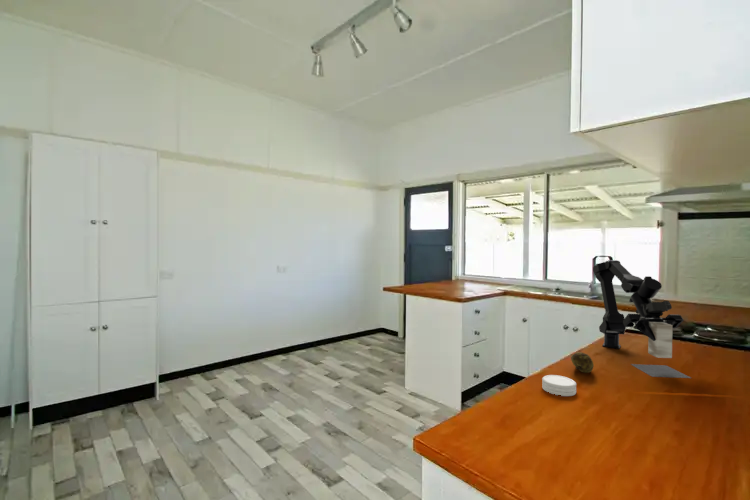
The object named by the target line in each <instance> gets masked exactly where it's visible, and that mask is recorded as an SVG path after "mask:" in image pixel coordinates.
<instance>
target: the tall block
mask: <svg viewBox="0 0 750 500" xmlns="http://www.w3.org/2000/svg"><path fill="white" fill-rule="evenodd" d="M649 326H650V328H651V330H652V332H653V334H654V336H655V339H656V340H655V341H653V340H652V339H650V338H649V337H648V336H647V339H648V342H647V346H648V348H647V353H648V354H649V355H651V356H653V357H654V358H659V359H660V358H661V359H672V358H673V328H672V327H673V325H670V324H667V323H664V322H649Z"/></svg>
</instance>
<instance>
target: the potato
mask: <svg viewBox="0 0 750 500" xmlns="http://www.w3.org/2000/svg"><path fill="white" fill-rule="evenodd" d="M570 361H571V363H572V365H573V366H574V367H575V369H576V370H578V371H580V372H582V373H585V374H588V373H591V372H592V371H593V369H594V362H593V360H592V358H591V356H590V355H589V354H588V353H585V352H581V351H580V352H579V351H578V352H575V353H573V354H572V355H571V356H570Z"/></svg>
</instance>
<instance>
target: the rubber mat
mask: <svg viewBox="0 0 750 500" xmlns="http://www.w3.org/2000/svg"><path fill="white" fill-rule="evenodd" d="M630 365H631V366H632V367H634V368H636V369H637V370H639V371H641V372H643V373H645V374H646V375H648V376H650V377H651V378H673V379H674V378H678V379H680V378H681V379H692V377H691V376H688V375H686V374H685V373H682V372H680V371H679V370H676V369H675V368H674V367H673V368H672V367H670V366H668V365H666V364H664V365H663V364H662V365H661V364H638V363H637V364H636V363H630Z"/></svg>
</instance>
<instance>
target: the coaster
mask: <svg viewBox="0 0 750 500" xmlns="http://www.w3.org/2000/svg"><path fill="white" fill-rule="evenodd" d="M541 380H542V382H541V383H542V384H541V385H542V386H541V387H542V389H543V391H545V392H547V393H548V392H549V394H551V395H554V394H555V395H554V396H558V395H561V396H560V397H572V396H575V395H576V394H577V382H576V381H575V380H573V379H572V378H569V377H567V376H564V375H563V376H562V375H559V374H558V375H557V374H548V375H544V376H543V377H542V378H541Z"/></svg>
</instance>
